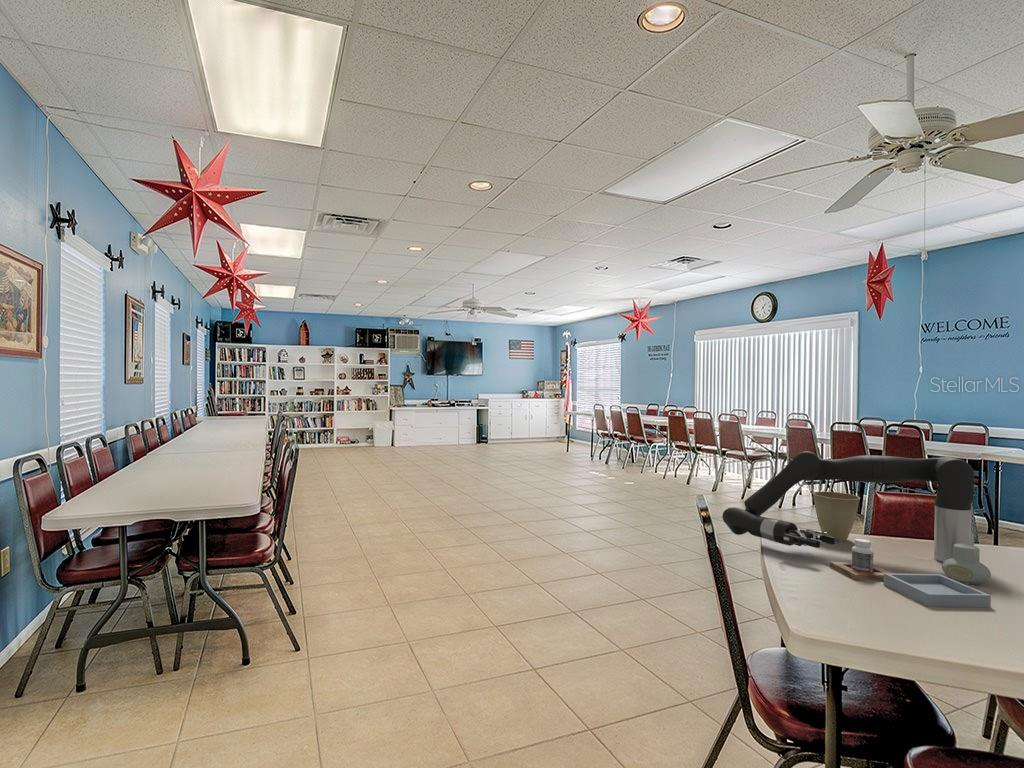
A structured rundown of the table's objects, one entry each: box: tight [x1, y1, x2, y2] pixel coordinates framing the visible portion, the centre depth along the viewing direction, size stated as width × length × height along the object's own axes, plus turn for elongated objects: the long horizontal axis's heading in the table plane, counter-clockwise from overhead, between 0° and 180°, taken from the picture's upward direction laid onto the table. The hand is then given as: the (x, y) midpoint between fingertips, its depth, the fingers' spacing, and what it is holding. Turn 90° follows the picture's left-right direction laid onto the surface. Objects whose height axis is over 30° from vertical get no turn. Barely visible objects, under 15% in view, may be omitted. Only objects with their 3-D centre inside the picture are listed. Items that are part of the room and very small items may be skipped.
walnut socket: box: [829, 561, 891, 582], centre depth 164 cm, size 12×12×2 cm
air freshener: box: [941, 544, 992, 585], centre depth 159 cm, size 11×8×10 cm
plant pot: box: [812, 490, 861, 542], centre depth 204 cm, size 15×15×16 cm
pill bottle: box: [851, 538, 874, 572], centre depth 164 cm, size 5×5×10 cm
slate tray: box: [883, 572, 992, 608], centre depth 147 cm, size 16×16×3 cm
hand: (827, 543), depth 172 cm, fingers open, 8 cm apart
